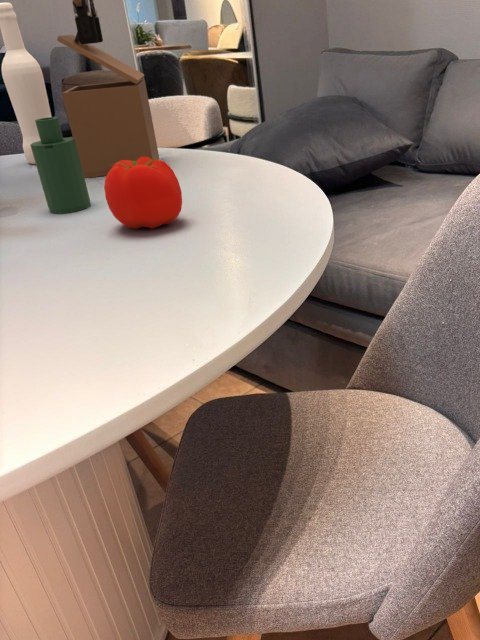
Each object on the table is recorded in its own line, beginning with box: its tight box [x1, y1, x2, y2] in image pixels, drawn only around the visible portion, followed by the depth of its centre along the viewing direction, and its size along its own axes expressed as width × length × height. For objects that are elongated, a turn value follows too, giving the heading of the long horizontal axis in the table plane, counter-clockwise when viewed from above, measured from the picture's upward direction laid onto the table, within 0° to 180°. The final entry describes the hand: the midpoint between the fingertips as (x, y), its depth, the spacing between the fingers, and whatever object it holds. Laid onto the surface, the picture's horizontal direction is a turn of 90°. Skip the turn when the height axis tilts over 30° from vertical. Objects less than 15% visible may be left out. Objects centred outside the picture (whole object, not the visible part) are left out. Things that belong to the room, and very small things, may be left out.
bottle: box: [0, 2, 52, 165], centre depth 134 cm, size 8×8×30 cm
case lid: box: [56, 30, 145, 84], centre depth 117 cm, size 14×14×5 cm
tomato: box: [103, 157, 183, 229], centre depth 87 cm, size 11×11×9 cm
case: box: [61, 78, 160, 179], centre depth 124 cm, size 14×14×15 cm
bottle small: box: [30, 116, 92, 214], centre depth 98 cm, size 6×6×13 cm
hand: (91, 41), depth 116 cm, fingers closed on case lid, 5 cm apart
